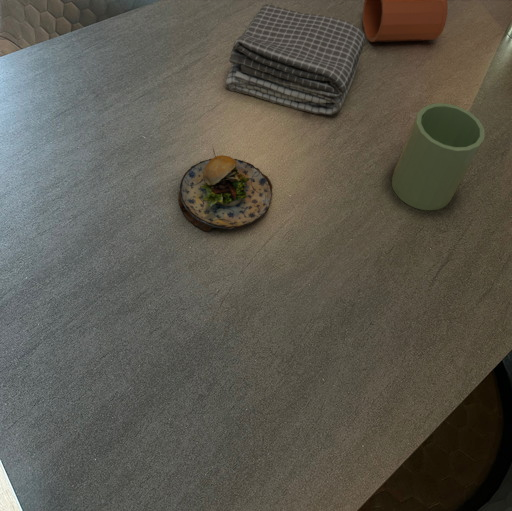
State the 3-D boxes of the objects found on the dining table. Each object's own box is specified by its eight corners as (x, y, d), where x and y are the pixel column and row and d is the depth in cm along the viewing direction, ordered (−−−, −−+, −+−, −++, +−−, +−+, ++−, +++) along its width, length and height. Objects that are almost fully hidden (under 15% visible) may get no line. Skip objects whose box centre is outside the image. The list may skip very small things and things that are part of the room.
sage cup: (439, 163, 88) (469, 102, 80) (461, 208, 84) (495, 148, 75) (383, 166, 87) (407, 104, 78) (402, 212, 82) (430, 152, 73)
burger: (205, 249, 75) (208, 208, 69) (162, 182, 80) (161, 139, 74) (289, 216, 79) (299, 175, 74) (243, 155, 85) (248, 112, 79)
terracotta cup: (434, -26, 103) (371, -25, 100) (453, 4, 98) (387, 5, 96) (418, 20, 109) (358, 21, 107) (435, 50, 105) (373, 52, 102)
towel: (338, 124, 91) (350, 79, 85) (219, 88, 93) (223, 42, 86) (360, 65, 100) (372, 21, 94) (251, 33, 102) (256, -12, 95)
